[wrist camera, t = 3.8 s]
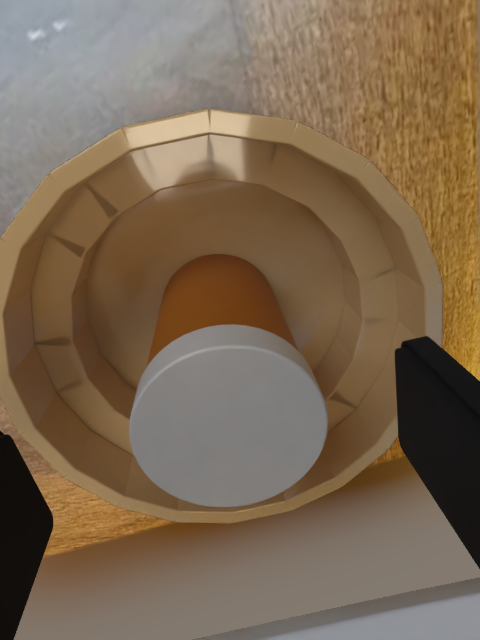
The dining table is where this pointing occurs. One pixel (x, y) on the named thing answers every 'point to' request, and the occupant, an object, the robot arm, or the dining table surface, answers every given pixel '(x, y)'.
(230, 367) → the pill bottle
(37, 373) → the beige round dish
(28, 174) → the dining table surface
